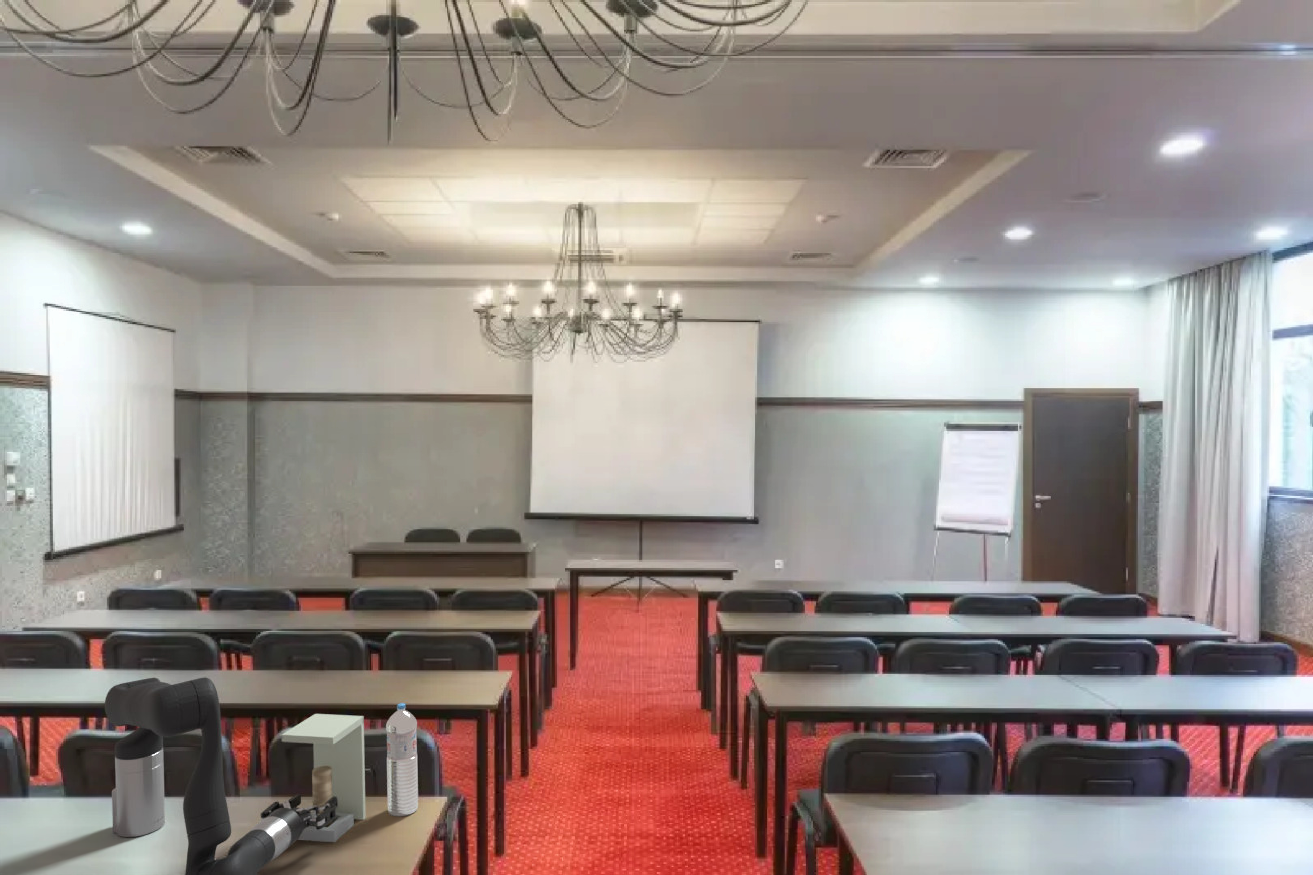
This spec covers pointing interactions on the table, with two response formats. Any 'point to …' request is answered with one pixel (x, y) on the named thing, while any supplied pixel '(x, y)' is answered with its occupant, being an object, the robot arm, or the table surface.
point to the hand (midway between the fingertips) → (317, 799)
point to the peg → (322, 787)
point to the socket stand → (336, 767)
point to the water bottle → (402, 763)
